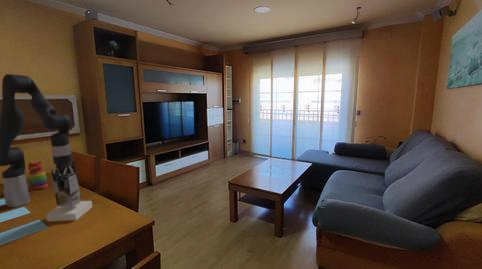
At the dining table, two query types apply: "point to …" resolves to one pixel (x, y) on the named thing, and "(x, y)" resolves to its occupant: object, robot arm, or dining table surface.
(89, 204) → the plinth
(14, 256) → the dining table surface
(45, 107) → the robot arm
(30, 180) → the stacking bear
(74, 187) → the coffee box
